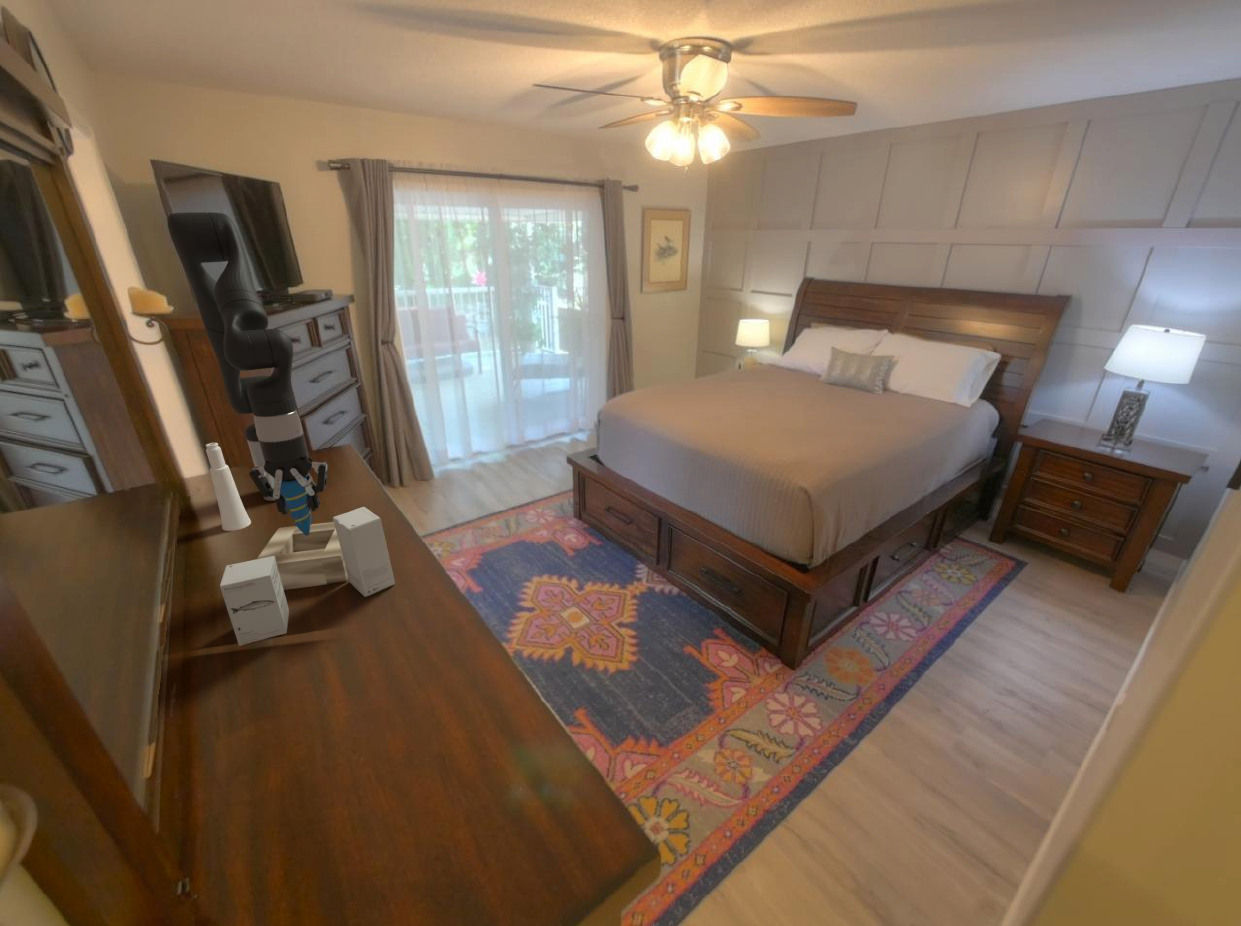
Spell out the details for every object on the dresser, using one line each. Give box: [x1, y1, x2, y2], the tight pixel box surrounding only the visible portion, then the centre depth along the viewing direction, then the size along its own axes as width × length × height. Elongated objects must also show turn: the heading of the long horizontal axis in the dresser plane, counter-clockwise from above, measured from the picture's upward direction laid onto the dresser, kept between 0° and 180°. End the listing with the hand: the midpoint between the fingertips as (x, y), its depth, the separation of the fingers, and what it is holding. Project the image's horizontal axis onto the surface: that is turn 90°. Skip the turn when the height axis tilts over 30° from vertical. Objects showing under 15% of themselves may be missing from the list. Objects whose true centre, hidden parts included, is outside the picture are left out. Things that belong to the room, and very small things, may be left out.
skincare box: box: [332, 506, 396, 598], centre depth 102 cm, size 8×7×16 cm
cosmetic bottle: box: [205, 442, 252, 532], centre depth 123 cm, size 6×6×22 cm
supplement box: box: [219, 556, 290, 647], centre depth 90 cm, size 7×7×13 cm
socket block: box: [256, 521, 349, 591], centre depth 110 cm, size 16×16×6 cm
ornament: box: [280, 478, 312, 536], centre depth 105 cm, size 5×5×15 cm
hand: (300, 511), depth 106 cm, fingers closed on ornament, 5 cm apart
